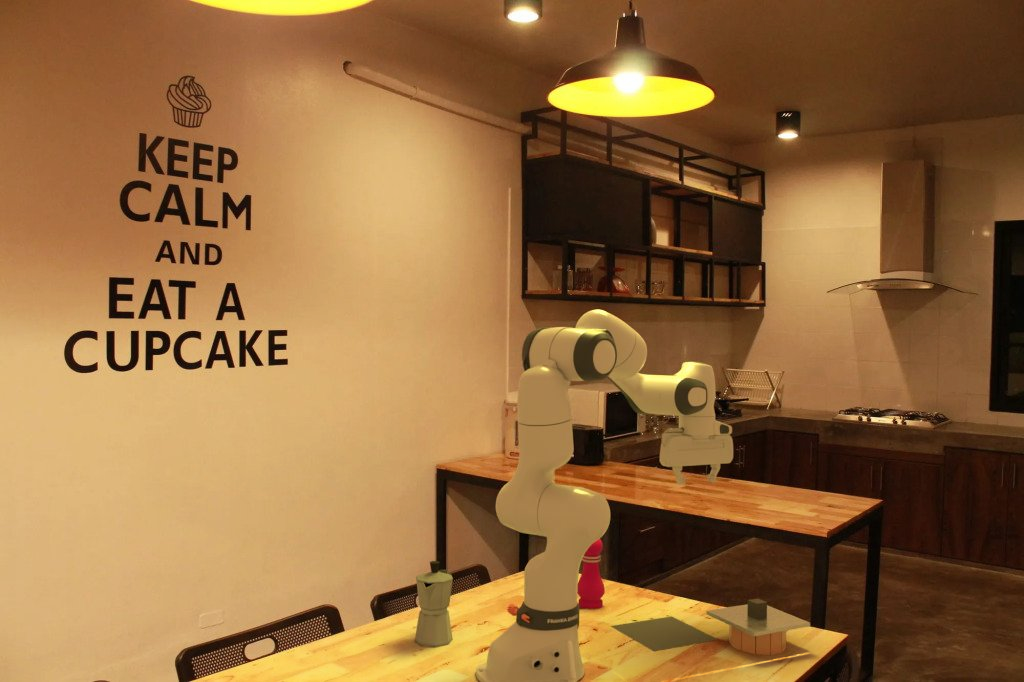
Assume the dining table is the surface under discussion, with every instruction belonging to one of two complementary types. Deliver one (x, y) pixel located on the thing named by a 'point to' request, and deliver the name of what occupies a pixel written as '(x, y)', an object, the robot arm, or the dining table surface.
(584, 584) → the pepper mill
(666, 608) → the dining table surface
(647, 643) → the rubber mat
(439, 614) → the coffee maker
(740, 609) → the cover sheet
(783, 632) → the bowl
